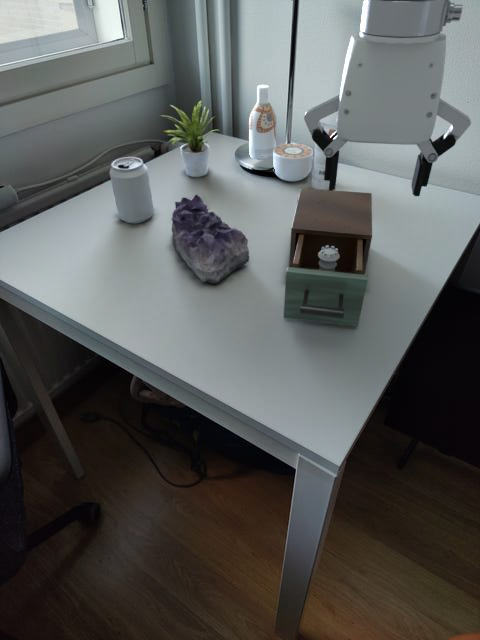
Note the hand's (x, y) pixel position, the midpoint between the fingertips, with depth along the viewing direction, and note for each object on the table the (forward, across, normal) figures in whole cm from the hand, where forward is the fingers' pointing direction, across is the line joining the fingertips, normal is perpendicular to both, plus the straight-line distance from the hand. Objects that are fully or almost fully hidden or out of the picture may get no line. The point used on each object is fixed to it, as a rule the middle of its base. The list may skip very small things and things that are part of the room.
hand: (373, 188), depth 55 cm
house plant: (+22, +40, -53) cm, 70 cm away
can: (+23, +46, -28) cm, 58 cm away
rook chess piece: (+22, +4, -7) cm, 23 cm away
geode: (+23, +28, -16) cm, 40 cm away
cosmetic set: (+23, +16, -54) cm, 60 cm away
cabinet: (+23, +5, -19) cm, 30 cm away
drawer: (+22, +5, -5) cm, 23 cm away
